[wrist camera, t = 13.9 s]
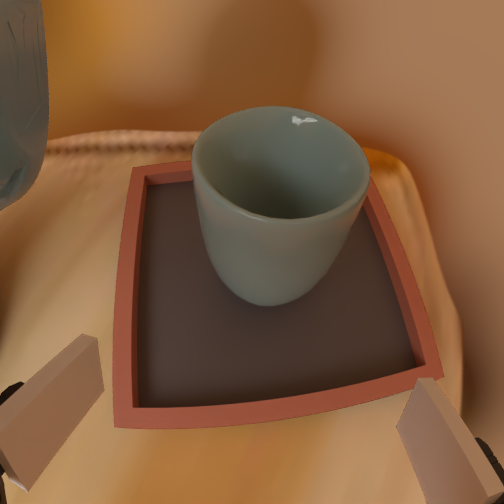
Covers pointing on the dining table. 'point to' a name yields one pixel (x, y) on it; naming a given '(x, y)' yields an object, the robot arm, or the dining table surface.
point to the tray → (255, 322)
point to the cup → (276, 199)
